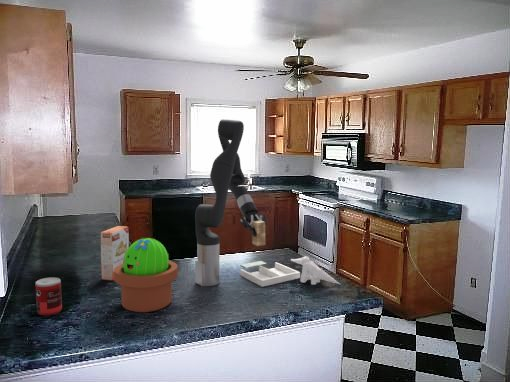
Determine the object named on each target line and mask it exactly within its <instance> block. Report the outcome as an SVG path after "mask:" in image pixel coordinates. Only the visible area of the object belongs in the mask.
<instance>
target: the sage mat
mask: <svg viewBox="0 0 510 382" xmlns="http://www.w3.org/2000/svg"><path fill="white" fill-rule="evenodd" d="M265 264H267V262H265V261H263V260H258V261H257V260H256V261H253V262H249V263H248V262H247V263H241V264H240V266H241V267H242V268H244V269H245V268H250V267H251V268H252V267H256V266H260V265H261V266H263V265H265Z"/></svg>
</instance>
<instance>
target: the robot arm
mask: <svg viewBox="0 0 510 382" xmlns="http://www.w3.org/2000/svg"><path fill="white" fill-rule="evenodd" d="M244 125H245V124H244V123H243V122H242V121H241V120H237V119H228V118H227V119H223V118H222V119H220V121H219V122H218V126H217V135H218V139H219V142H220V145H221V149H222V152H221V153H220V154H218V156H217V157H216V158H215V159H214V160H213V163H212V167H211V170H210V174H209V178H210V181H211V184H212V186H213V189H214V191H215V202H214V204H206V203H205V204H204V203H203V204H202V203H201V204H199V205H198V206H197V207H196V209H195V212H194V213H195V215H194V221H195V224H194V225H195V236H196V243H197V244H196V246H197V249H196V253H197V254H196V256H197V258H196V259H197V260H195V270H194V271H195V283H196V284H198V285H199V286H200V287H213V286H217V285H219V284H220V236H219V235H218V234H216V233H214V232H213V231H211V230H210V229H209V228H213V229H214V228H216V229H217V228H220V227H221V226H222V224H223V221H224V217H225V210H226V203H227V197H228V193H229V191H230V192H231V193H232V194H233V196H234V198H235V200H236V202H237V206H238V208H239V210H240V213H241V214H242V216H241V218H240V220H239V222H240V224H242V226H243V228H245V230H247V231H248V230H249V231H250V232H251V236H252V235H253V236H254V237H256V236H257V232H256V230H255V228H253V227H254V226H253V221H258V220H261V221H264V222H265V227H266V226H267V225H268V222H267V217H266V215H265V214H262V215H260V213H259V212H258V211H259V210H258V208H257V207H256V204H255V202H254V200H253V198H252V196H251V195H250V193H249V190H248V189H247V187H246V186H244V184H245V182H246V177H245V174H244V173H243V171H242V167H241V159H240V155H239V153H238V150H239V148H240V144H241V141H242V138H243V136H244V135H243V134H244V131H245V130H244V127H245V126H244ZM242 185H243V186H242ZM267 233H268V232H267V229H266V228H265V236H266V235H267Z"/></svg>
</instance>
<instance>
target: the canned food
mask: <svg viewBox="0 0 510 382" xmlns="http://www.w3.org/2000/svg"><path fill="white" fill-rule="evenodd" d="M35 299H36V300H35V302H36V311H37V314H38V315H40V316H45V317H46V316H52V315H57V314H58V313H60V312H61V311H62V309H63V303H62V281H61V279H60V278H59V277H44V278H40V279H38V280H37V281H35Z"/></svg>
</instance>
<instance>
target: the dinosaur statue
mask: <svg viewBox="0 0 510 382" xmlns="http://www.w3.org/2000/svg"><path fill="white" fill-rule="evenodd" d="M290 262H293V263H296V264H298V265H301V266H302V269H301V273H300V278H299V279H300V283H302V284H303V283H306V282H307V281H310V284H311V285H317V284H319V283H320V282H321V280H322V281H325V282H329V283H334V284H338V285H341V283H340V282H339V281H337V280H336V279H335V278H334V277H332V276H331V275H330V274H328V273H327V272H326V270H323V268H322V267H321V268H320V267H319V266H318V265H317V263H315V262H314V261H313V260H311V259H310V257H309V256H306V255H304V256H302V257H300V258H290Z"/></svg>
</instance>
